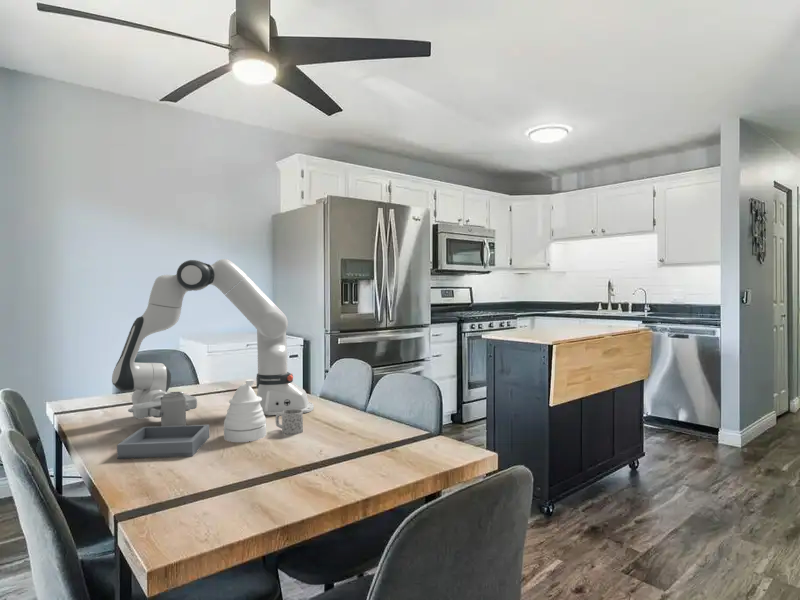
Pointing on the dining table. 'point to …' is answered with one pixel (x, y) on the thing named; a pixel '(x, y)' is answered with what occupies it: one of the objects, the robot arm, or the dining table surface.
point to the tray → (163, 441)
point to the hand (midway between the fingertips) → (174, 410)
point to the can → (173, 409)
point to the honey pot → (245, 416)
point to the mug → (290, 421)
